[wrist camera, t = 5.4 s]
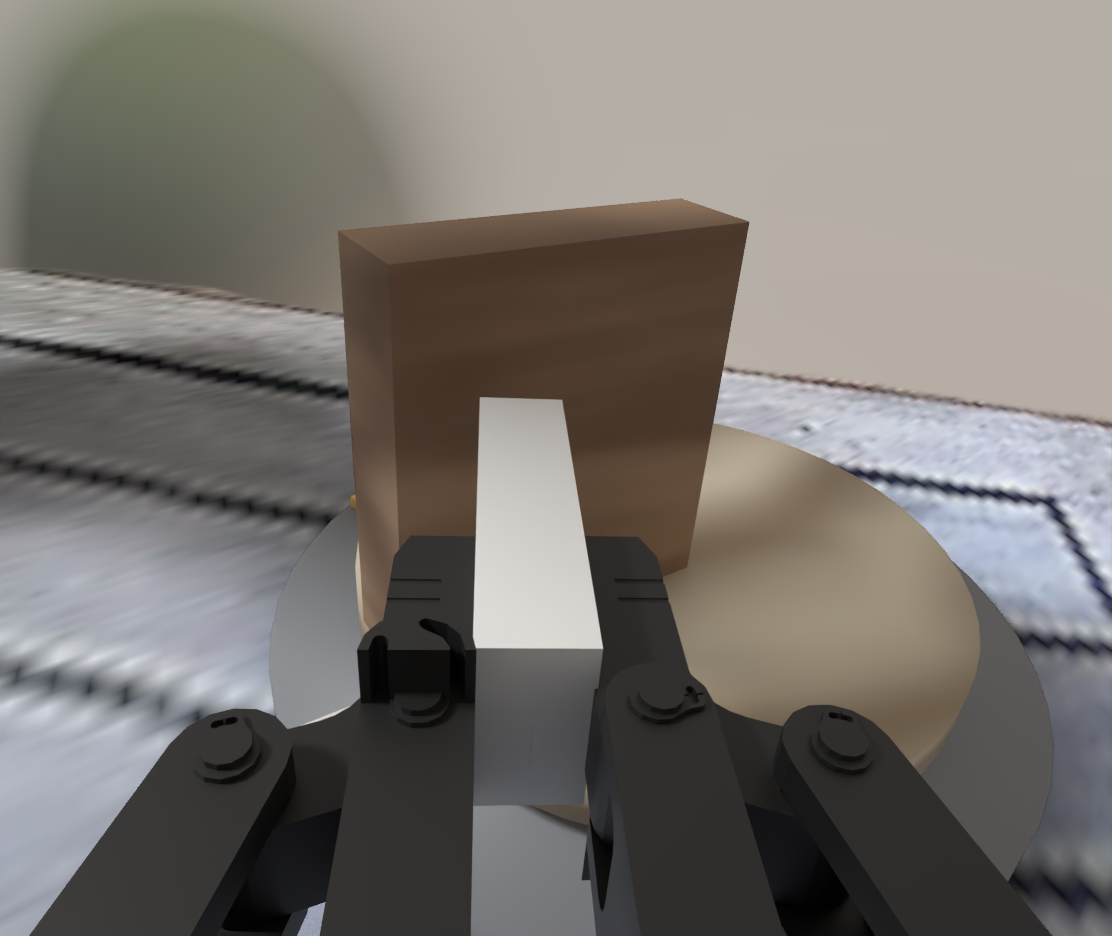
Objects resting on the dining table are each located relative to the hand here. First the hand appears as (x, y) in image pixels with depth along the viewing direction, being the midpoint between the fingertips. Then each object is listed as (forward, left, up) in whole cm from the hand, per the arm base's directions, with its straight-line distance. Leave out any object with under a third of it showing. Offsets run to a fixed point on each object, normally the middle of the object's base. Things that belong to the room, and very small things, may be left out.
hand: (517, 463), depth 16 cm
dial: (-3, +7, -8) cm, 12 cm away
